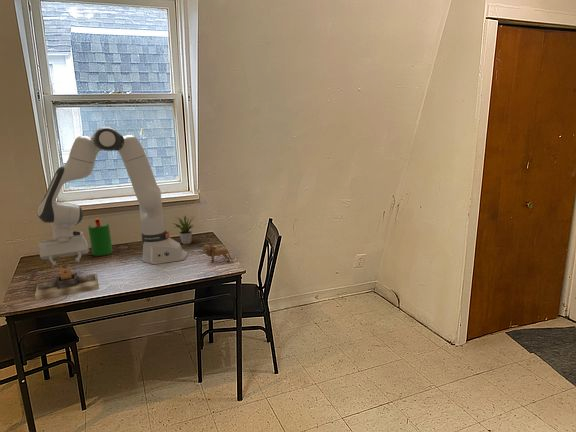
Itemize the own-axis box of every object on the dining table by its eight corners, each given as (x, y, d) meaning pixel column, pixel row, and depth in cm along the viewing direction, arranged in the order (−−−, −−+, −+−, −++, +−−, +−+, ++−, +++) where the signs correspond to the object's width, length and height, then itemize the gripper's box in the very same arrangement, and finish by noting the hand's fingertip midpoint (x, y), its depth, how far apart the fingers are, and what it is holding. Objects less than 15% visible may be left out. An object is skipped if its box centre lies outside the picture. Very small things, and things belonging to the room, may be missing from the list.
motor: (111, 249, 237) (106, 214, 232) (114, 253, 230) (109, 217, 225) (91, 252, 232) (86, 217, 227) (93, 257, 225) (88, 220, 220)
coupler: (73, 281, 188) (70, 264, 186) (72, 284, 184) (69, 267, 182) (62, 283, 186) (59, 265, 184) (62, 286, 182) (59, 268, 180)
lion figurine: (203, 264, 210) (202, 246, 208) (204, 260, 215) (203, 243, 213) (233, 262, 211) (232, 245, 209) (233, 258, 217) (232, 241, 214)
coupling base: (97, 277, 197) (96, 267, 196) (98, 288, 184) (97, 277, 183) (38, 288, 187) (36, 277, 186) (35, 300, 175) (33, 289, 173)
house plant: (193, 236, 256) (190, 210, 252) (204, 241, 246) (202, 214, 242) (171, 242, 247) (168, 214, 243) (182, 247, 237) (179, 218, 233)
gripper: (36, 238, 193) (39, 265, 187) (86, 231, 202) (89, 256, 196) (39, 244, 198) (41, 271, 192) (87, 238, 207) (90, 263, 201)
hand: (66, 263), depth 194 cm, fingers open, 8 cm apart
